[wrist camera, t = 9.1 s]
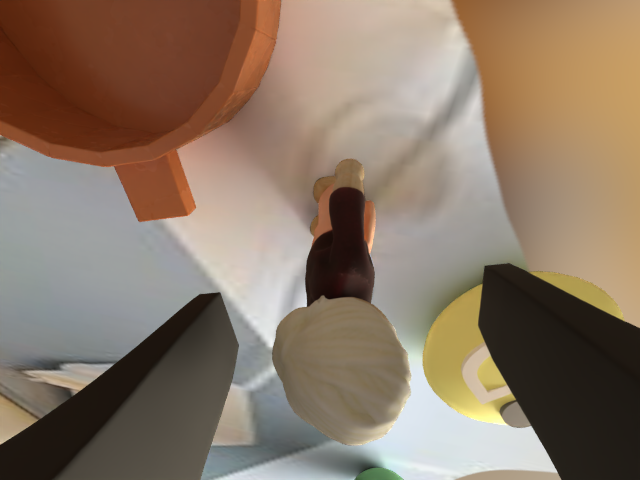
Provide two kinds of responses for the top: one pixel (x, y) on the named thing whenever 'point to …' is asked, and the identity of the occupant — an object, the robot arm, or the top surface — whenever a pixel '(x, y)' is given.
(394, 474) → the alien toy
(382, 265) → the top surface
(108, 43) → the pot
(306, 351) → the grandmother figurine
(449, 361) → the emoji
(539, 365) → the robot arm
